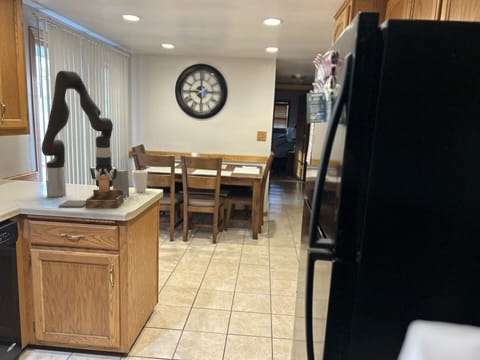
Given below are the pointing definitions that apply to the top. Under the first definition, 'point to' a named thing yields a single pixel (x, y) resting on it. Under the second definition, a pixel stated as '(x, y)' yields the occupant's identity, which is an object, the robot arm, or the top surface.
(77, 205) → the slate mat
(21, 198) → the top surface
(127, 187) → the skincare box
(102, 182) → the flowerpot
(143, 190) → the foam cup
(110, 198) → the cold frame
